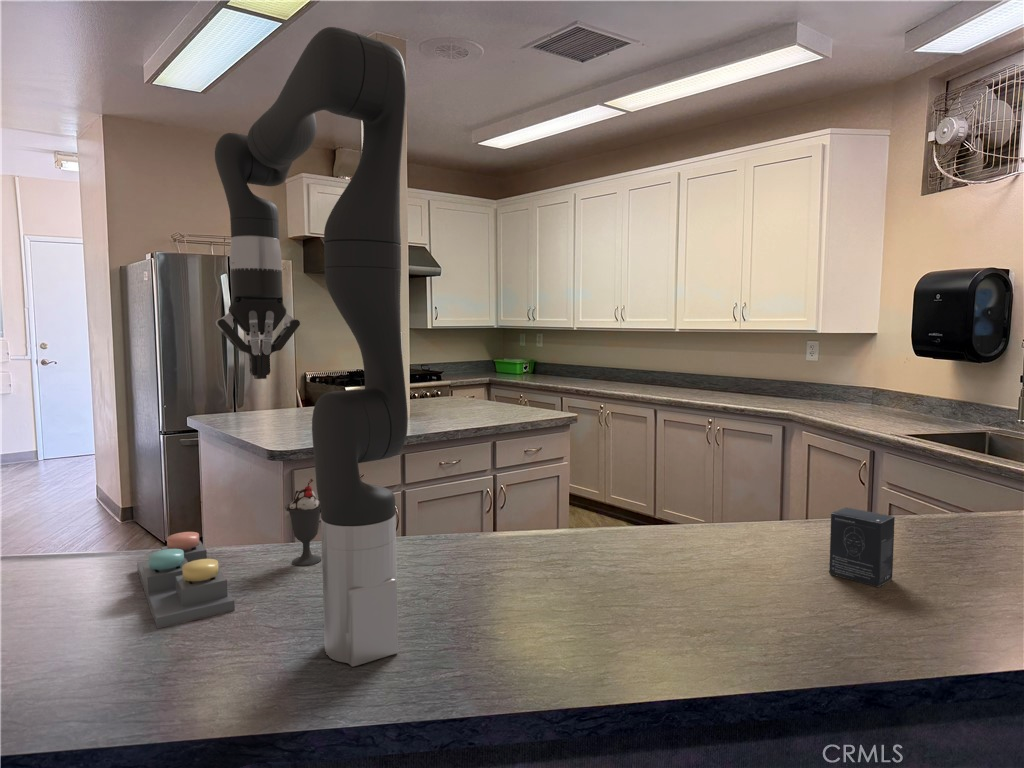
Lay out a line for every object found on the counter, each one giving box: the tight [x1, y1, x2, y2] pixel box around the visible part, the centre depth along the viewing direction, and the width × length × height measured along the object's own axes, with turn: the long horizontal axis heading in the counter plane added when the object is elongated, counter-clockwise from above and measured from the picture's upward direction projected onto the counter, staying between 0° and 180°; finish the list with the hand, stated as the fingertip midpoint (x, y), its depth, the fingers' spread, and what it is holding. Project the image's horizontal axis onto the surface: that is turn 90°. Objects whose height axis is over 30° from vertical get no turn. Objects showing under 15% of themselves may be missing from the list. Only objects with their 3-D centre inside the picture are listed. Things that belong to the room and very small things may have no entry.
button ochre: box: [182, 558, 219, 584], centre depth 97 cm, size 5×5×4 cm
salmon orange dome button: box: [166, 531, 200, 552], centre depth 110 cm, size 5×5×4 cm
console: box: [136, 540, 236, 629], centre depth 103 cm, size 26×10×4 cm, turn 35°
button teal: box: [148, 549, 184, 572], centre depth 101 cm, size 5×5×4 cm
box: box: [828, 507, 896, 588], centre depth 107 cm, size 8×6×11 cm
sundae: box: [284, 478, 322, 567], centre depth 114 cm, size 7×7×15 cm
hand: (260, 378), depth 103 cm, fingers closed
